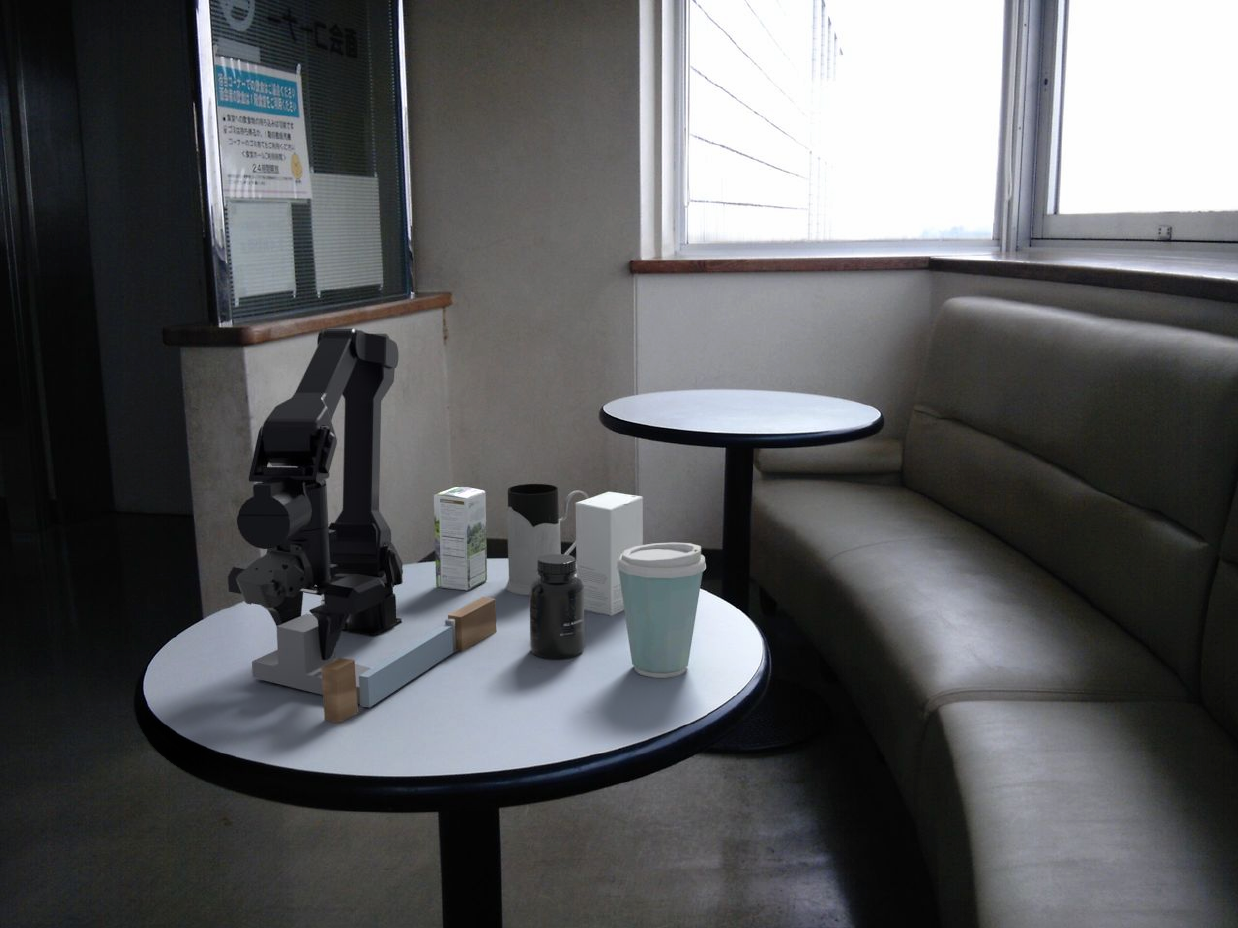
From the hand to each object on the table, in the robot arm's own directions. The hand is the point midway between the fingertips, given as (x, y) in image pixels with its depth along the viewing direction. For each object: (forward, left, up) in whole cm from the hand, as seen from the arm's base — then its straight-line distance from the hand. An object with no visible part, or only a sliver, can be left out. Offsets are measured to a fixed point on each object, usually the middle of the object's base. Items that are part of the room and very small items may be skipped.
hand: (309, 655), depth 125 cm
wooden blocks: (+9, +15, -3) cm, 18 cm away
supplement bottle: (+21, +21, -4) cm, 30 cm away
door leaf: (+9, +15, -3) cm, 18 cm away
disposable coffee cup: (+35, +21, -4) cm, 41 cm away
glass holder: (+6, +46, -4) cm, 47 cm away
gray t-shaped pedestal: (0, 0, -3) cm, 3 cm away
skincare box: (+19, +40, -4) cm, 45 cm away
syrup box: (-6, +40, -4) cm, 41 cm away
